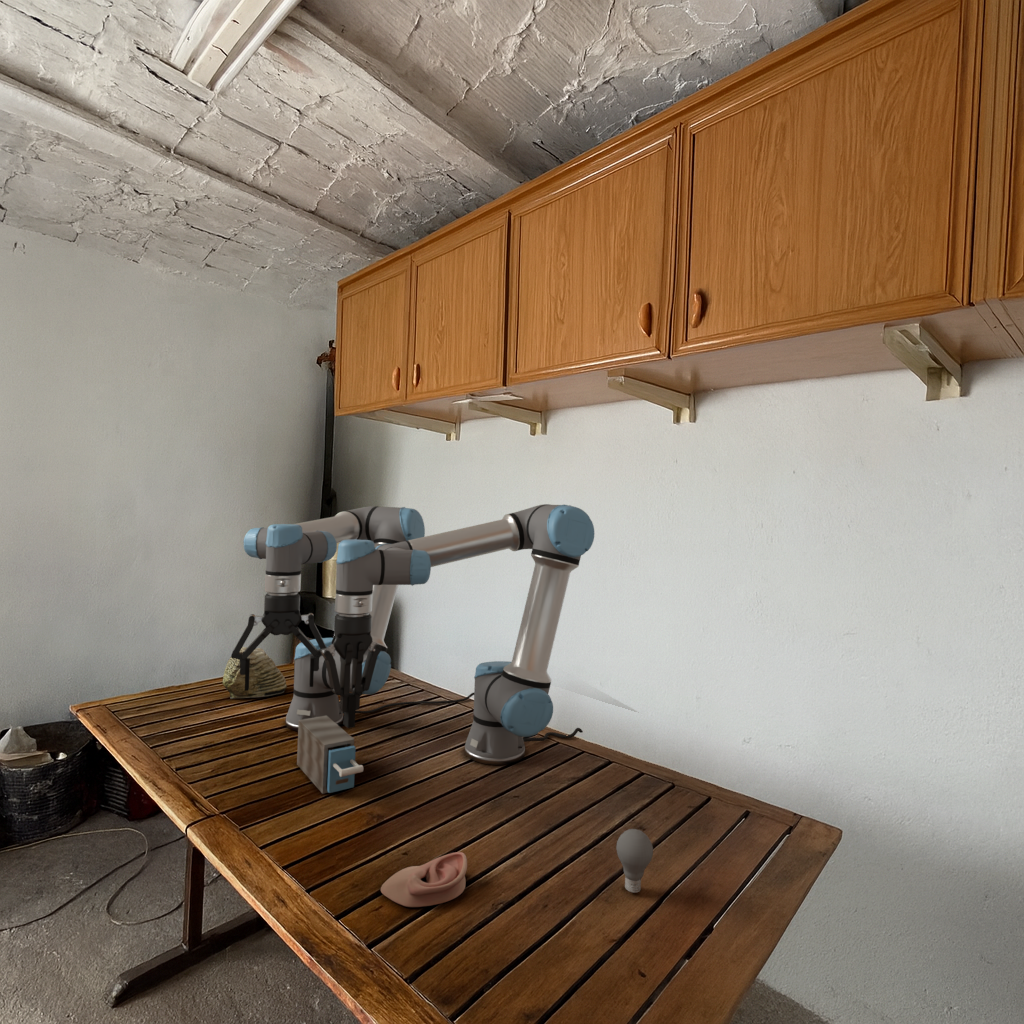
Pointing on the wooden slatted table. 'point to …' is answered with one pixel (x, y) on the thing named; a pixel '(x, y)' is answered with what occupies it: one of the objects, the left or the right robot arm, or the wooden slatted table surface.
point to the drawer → (341, 768)
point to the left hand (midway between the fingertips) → (279, 687)
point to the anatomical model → (428, 882)
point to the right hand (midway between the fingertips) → (349, 725)
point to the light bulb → (634, 857)
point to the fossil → (254, 676)
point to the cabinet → (318, 747)
